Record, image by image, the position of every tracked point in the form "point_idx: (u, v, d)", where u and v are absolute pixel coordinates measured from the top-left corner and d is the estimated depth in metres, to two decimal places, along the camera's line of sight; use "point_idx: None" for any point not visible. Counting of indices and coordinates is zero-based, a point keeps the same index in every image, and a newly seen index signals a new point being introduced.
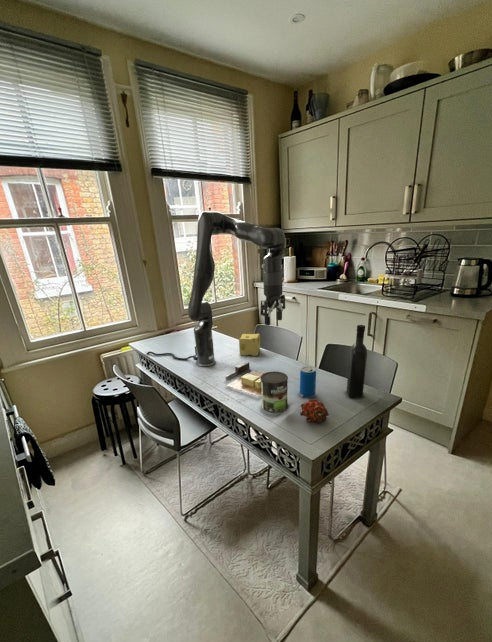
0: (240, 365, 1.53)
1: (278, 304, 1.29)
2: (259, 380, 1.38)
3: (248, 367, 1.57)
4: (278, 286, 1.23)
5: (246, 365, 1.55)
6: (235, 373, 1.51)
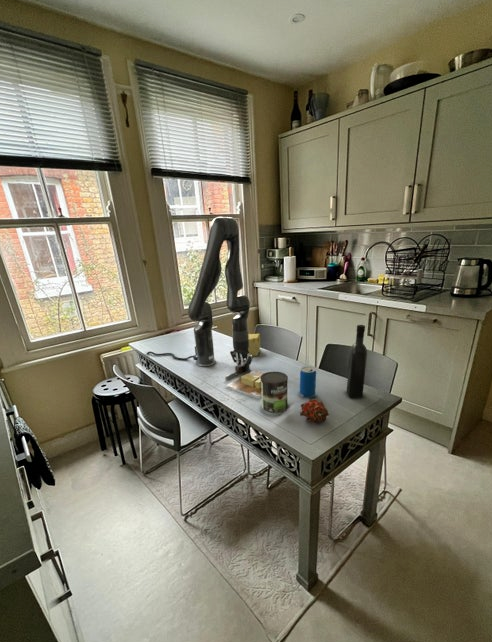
0: (240, 365, 1.53)
1: (241, 357, 1.51)
2: (259, 380, 1.38)
3: (248, 367, 1.57)
4: (233, 342, 1.47)
5: None
6: (235, 373, 1.51)
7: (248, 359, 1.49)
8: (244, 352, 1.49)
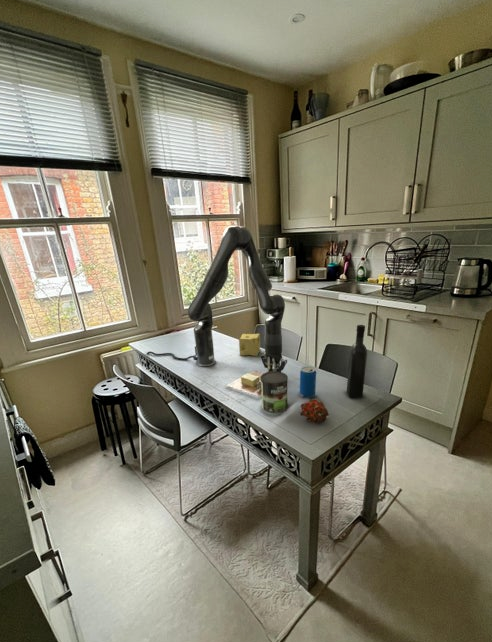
0: (272, 371, 1.41)
1: (273, 362, 1.39)
2: None
3: None
4: (266, 345, 1.36)
5: None
6: None
7: (281, 364, 1.37)
8: (277, 357, 1.37)
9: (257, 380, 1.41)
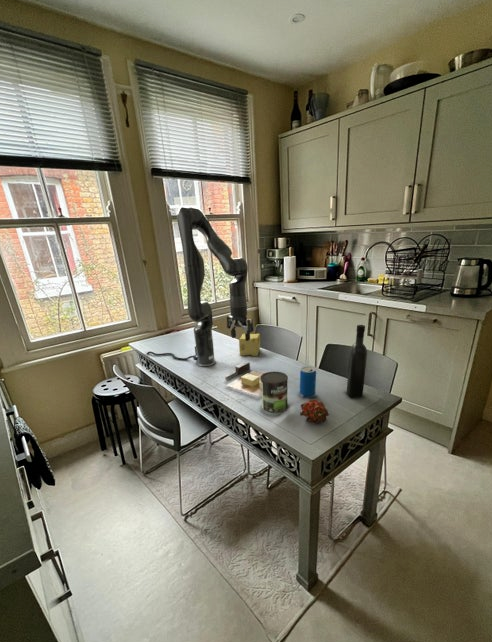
0: (240, 365, 1.53)
1: (240, 325, 1.44)
2: None
3: (248, 367, 1.57)
4: (231, 308, 1.41)
5: (246, 365, 1.55)
6: (235, 373, 1.51)
7: (248, 324, 1.41)
8: (242, 319, 1.42)
9: (257, 380, 1.41)
